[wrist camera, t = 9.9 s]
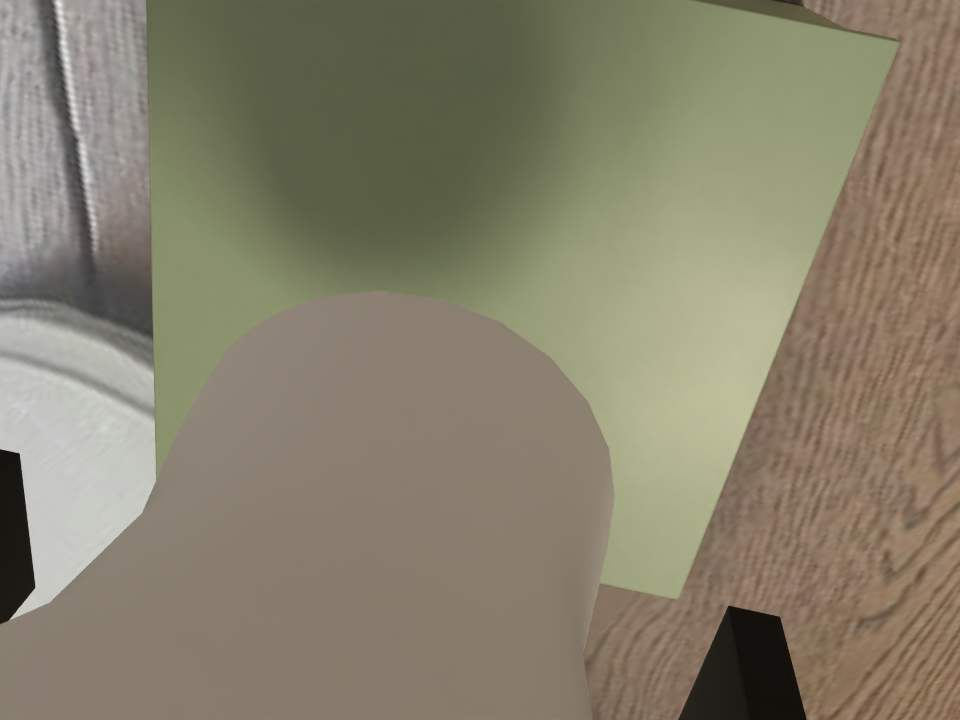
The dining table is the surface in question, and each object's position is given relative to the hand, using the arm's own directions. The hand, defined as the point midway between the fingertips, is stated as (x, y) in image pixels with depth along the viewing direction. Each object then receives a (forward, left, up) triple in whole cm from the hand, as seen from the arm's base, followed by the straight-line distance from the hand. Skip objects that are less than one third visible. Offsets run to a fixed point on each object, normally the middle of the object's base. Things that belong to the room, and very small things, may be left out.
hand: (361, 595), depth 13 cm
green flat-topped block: (0, 0, -18) cm, 18 cm away
